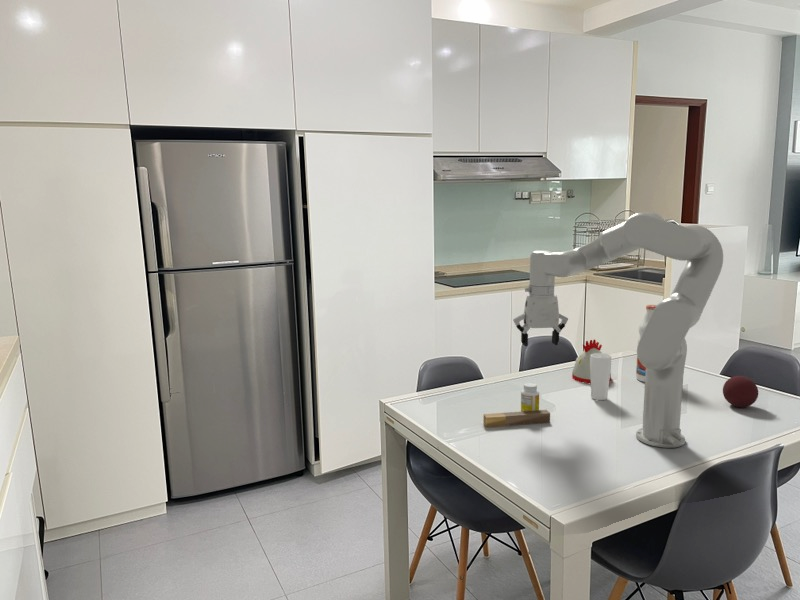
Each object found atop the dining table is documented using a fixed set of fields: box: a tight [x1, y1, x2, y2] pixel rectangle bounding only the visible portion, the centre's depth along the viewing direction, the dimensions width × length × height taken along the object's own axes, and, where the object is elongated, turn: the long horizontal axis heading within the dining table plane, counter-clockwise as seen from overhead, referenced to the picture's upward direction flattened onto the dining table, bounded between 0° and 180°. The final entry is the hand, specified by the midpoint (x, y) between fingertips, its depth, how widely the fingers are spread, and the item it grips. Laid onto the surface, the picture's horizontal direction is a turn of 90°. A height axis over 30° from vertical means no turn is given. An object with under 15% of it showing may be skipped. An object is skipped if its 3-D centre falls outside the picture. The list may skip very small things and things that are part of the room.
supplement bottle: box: [520, 382, 540, 412], centre depth 186 cm, size 6×6×10 cm
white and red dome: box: [571, 339, 612, 385], centre depth 224 cm, size 14×14×15 cm
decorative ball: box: [722, 375, 759, 408], centre depth 192 cm, size 10×10×10 cm
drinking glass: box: [590, 352, 612, 401], centre depth 201 cm, size 7×7×15 cm
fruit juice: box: [635, 304, 658, 383], centre depth 220 cm, size 9×9×28 cm
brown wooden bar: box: [482, 409, 551, 428], centre depth 181 cm, size 3×20×3 cm, turn 99°
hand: (539, 344), depth 187 cm, fingers open, 9 cm apart
